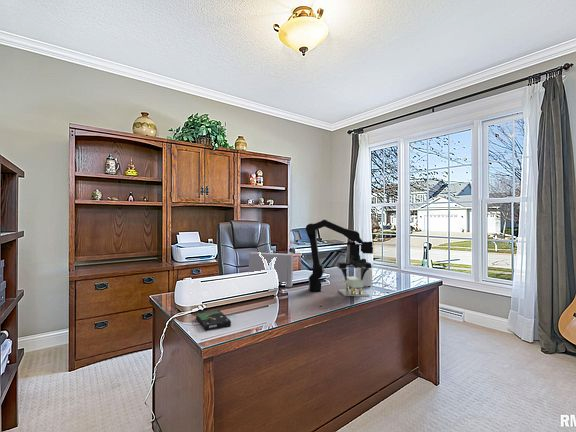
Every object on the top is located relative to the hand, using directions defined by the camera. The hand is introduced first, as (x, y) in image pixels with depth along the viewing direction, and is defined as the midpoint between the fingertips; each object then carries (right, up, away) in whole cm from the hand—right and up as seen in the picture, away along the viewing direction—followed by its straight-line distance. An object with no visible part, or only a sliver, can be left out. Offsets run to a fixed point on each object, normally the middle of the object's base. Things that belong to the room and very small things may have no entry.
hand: (353, 280), depth 169 cm
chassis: (0, -8, 0) cm, 8 cm away
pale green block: (0, -3, 0) cm, 3 cm away
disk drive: (-68, -7, -49) cm, 84 cm away
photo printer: (+11, -8, +19) cm, 24 cm away
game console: (-49, -7, +17) cm, 52 cm away
